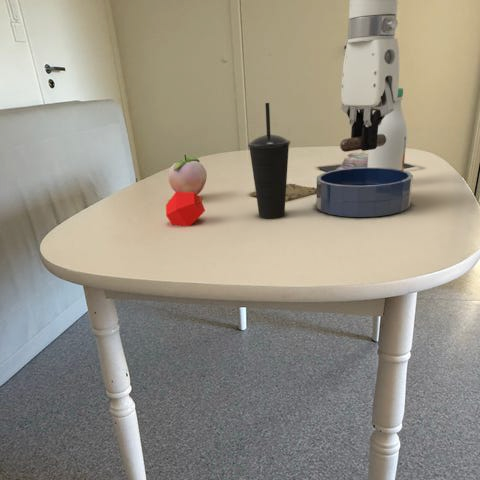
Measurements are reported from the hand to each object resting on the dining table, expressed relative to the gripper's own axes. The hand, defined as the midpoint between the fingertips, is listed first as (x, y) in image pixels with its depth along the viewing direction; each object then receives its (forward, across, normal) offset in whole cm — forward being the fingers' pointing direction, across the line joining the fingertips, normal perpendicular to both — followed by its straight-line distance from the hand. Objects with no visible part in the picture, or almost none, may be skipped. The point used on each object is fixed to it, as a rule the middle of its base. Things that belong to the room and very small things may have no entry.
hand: (363, 148), depth 83 cm
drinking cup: (+11, +6, +17) cm, 21 cm away
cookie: (+11, +20, +5) cm, 23 cm away
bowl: (+11, 0, 0) cm, 11 cm away
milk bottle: (+11, +10, -15) cm, 21 cm away
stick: (0, 0, 0) cm, 0 cm away
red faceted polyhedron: (+12, +13, +32) cm, 36 cm away
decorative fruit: (+12, +32, +24) cm, 41 cm away
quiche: (+11, +28, -27) cm, 41 cm away
